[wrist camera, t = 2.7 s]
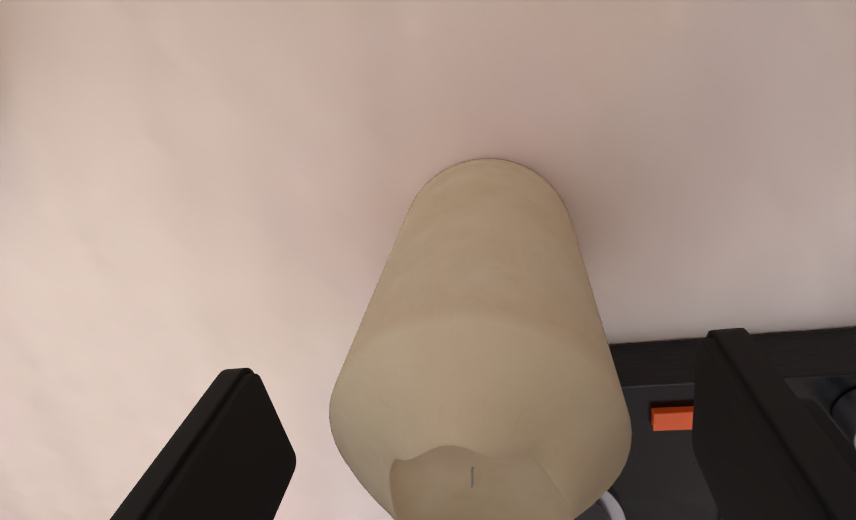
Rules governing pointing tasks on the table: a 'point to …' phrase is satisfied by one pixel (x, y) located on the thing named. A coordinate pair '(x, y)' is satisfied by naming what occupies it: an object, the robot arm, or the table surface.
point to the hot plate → (673, 415)
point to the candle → (483, 361)
